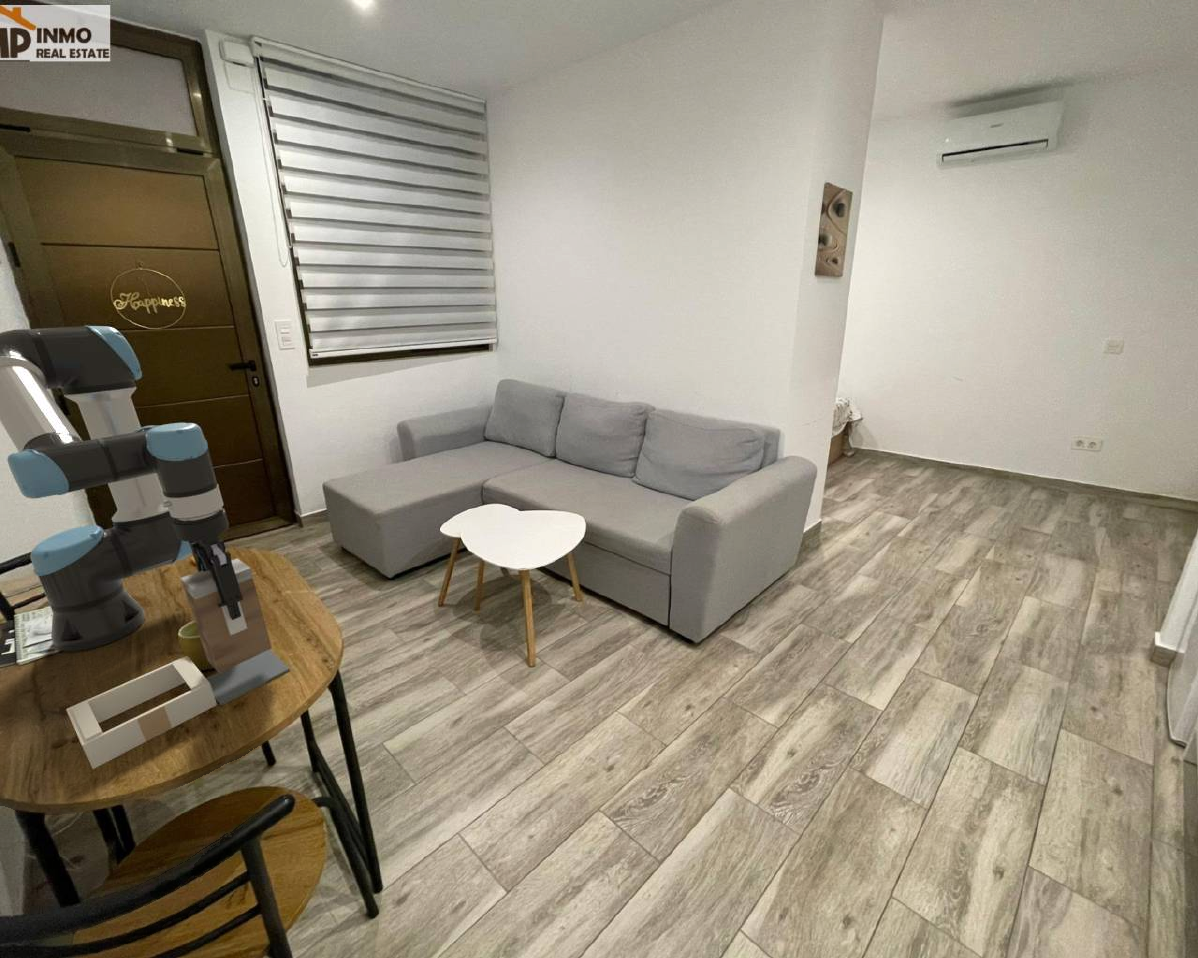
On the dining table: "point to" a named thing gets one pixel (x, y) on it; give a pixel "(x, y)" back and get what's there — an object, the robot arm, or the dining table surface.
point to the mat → (246, 676)
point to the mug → (193, 646)
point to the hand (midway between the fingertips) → (231, 624)
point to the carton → (146, 724)
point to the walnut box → (212, 624)
